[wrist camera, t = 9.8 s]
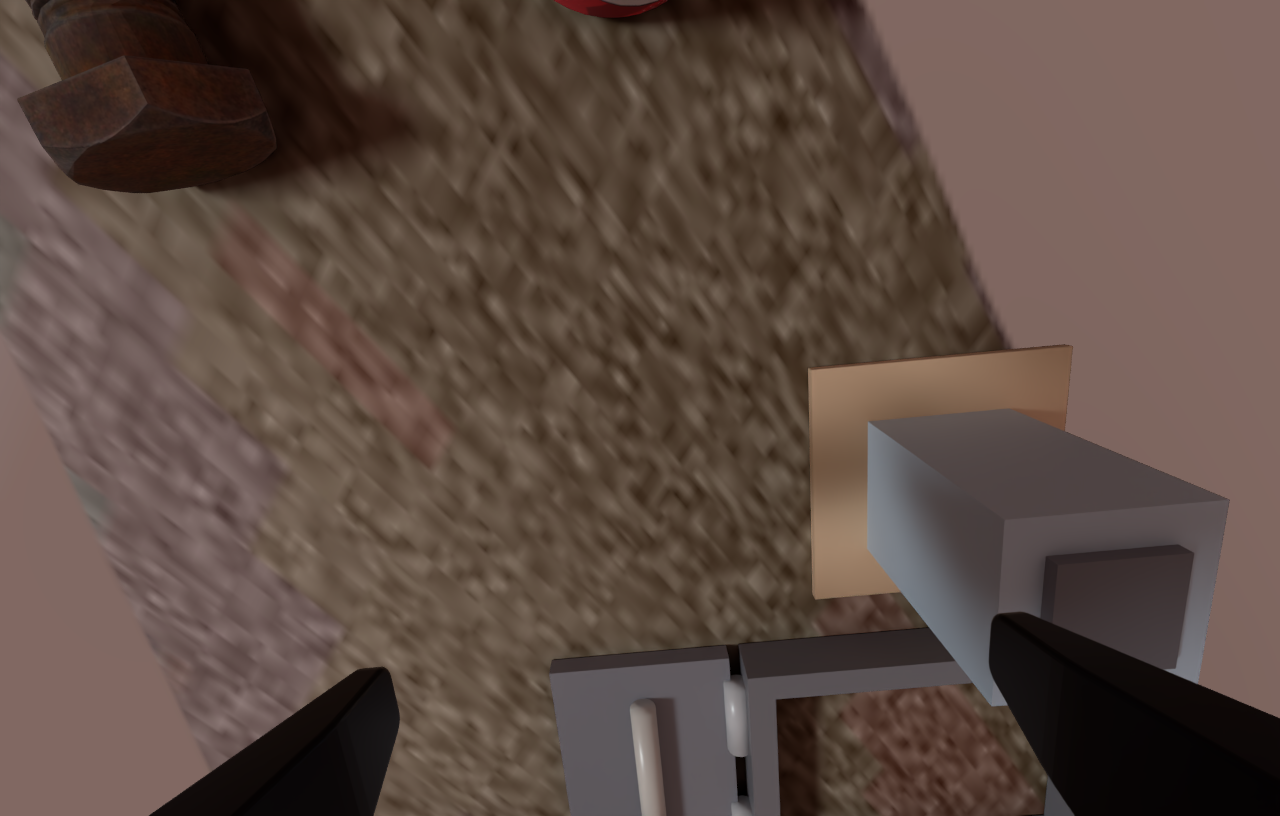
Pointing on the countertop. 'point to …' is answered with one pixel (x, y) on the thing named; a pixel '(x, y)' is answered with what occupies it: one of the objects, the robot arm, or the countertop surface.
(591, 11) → the soda can
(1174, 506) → the block
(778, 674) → the case
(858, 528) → the pad
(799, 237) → the countertop surface
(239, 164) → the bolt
